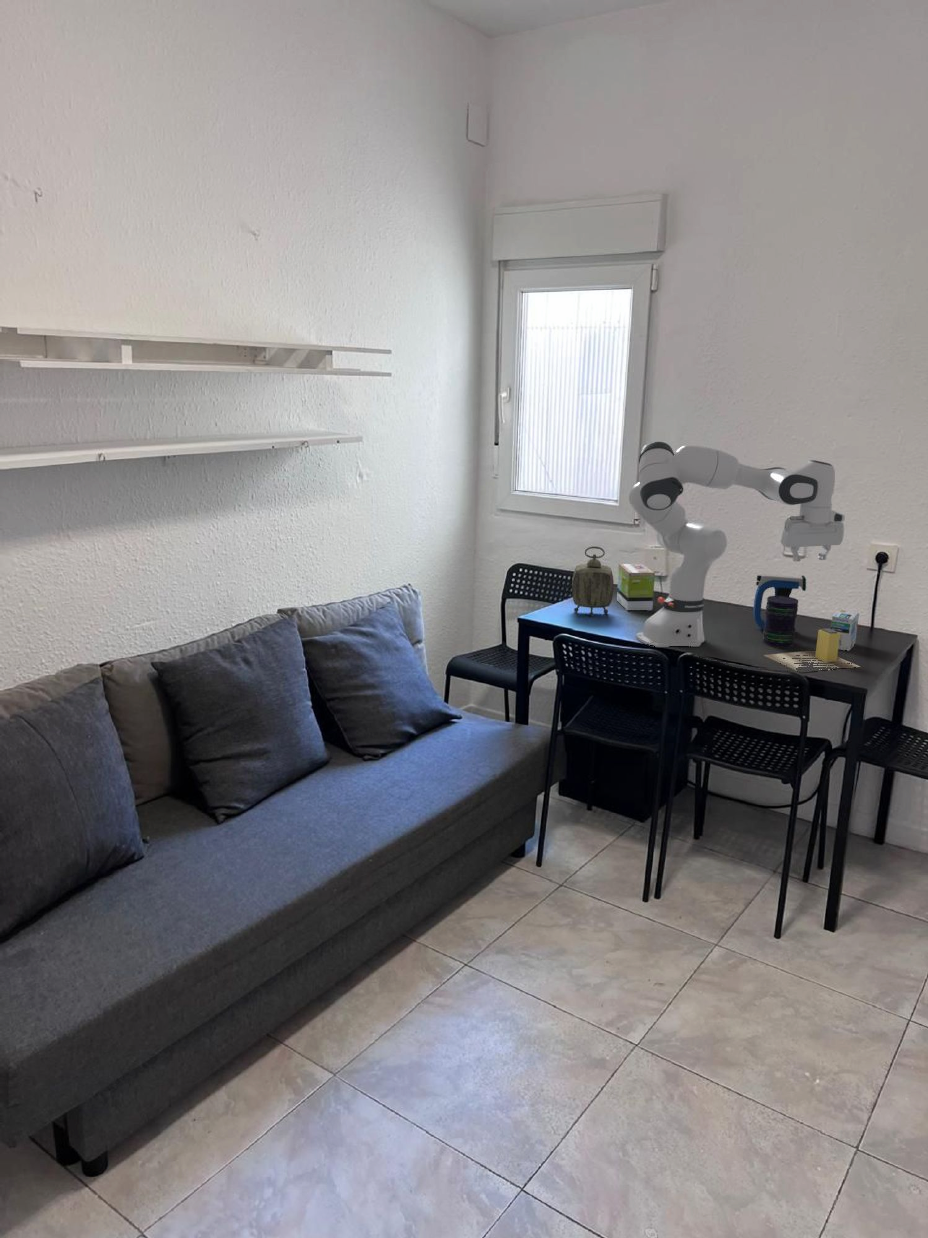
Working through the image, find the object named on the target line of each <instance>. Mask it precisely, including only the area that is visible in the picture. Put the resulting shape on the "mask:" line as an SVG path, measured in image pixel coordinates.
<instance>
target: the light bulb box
mask: <svg viewBox="0 0 928 1238" xmlns="http://www.w3.org/2000/svg"><path fill="white" fill-rule="evenodd" d="M859 617H860V613H859V612H854V611H848V610H841V609H838V610H837V611H836V612H835V613H834V614H833V615H831V624H830V629H832V630H834V631H837V632H838V633H840V639H839V646H838V651H839V650H841V651H845V650H847V651H846V652H849V651H851V649H852V648H854V646H855V645H854V644H856V638H857V633H858V632H857V631H858V624H859Z"/></svg>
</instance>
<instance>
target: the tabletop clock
mask: <svg viewBox="0 0 928 1238" xmlns="http://www.w3.org/2000/svg"><path fill="white" fill-rule="evenodd" d="M591 549H592V550H593V549H597V550H601V551H602V552H603V554H601V555H599V556H597V554H595V553H594V554H593V555H588V554H587V552H588V550H591ZM584 554H585V556H586V557H587V558H589V560H588V561H587V563H583V564H579V565H576V566H575V568H574V571H573V575H572V581H571V582H572V583H571V586H572V588H571V590H572V599H573V600H572V601H573V603H574V605H575V606H577V607H574V609H573V612H574V613H578V612H579V608H580V607H582V608H588V609H589V608H590V612H589V613H588V615H589V617H591V616H592V617H594V615H595V614H594V612H593V610H594V609H597V608H598V609H599V608H601V609H602V608H603V614H608V613H609V610H608V609H606V607H609V606H610V605H611V603H612V600H613V597H614V596H613V595H614V589H615V588H614V585H615V584H614V583H615V581H614V575H613V574H614V573H613V571H612V568H611V567H610V566H608V565H605V564H602V563H601V561H600V560H599V559H600V558H603V557H604V556H605V554H606V553H605V550H604V549H603V548H602V547H600V546H589V547H587V548H586V549H585V551H584Z"/></svg>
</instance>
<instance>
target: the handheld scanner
mask: <svg viewBox="0 0 928 1238" xmlns="http://www.w3.org/2000/svg"><path fill="white" fill-rule="evenodd" d="M755 585H756V586H757V588H756V590H755V594H754V600H753V608H752V609H753V617H754V621H755V623H756V625H757V626H758V627H759V628H760V629H761V630H763V631H764V626H765V621H766V620H764V619H763V618H762V615H761V613H762V603H763V597H764V594H765V592H766V591H767V589H768V590H769V589H770V588H771V589H772V588H774V596H786V597H791V593H792V591H793V589H795V590H799V588H800V587H801V589H802V591H804V592H806V590H807V578H806V576H805V575H801V576H791V575H790V576H789V575H780V574H779V575H778V574H776V575H774V574H761V575H759V574H758V575H757V576H756V582H755ZM794 628H795V629H796V626H795V627H794Z"/></svg>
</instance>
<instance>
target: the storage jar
mask: <svg viewBox="0 0 928 1238" xmlns="http://www.w3.org/2000/svg"><path fill="white" fill-rule="evenodd" d="M798 604H799V599H797V598H795V597H791V596H789V597H786V596H775V595H771V596H768V597H767V598H766V604H765V620H764V621H765V626H764V630H763V631H762V644H764V645H766V646H768V647H773V648H778V647H782V648H781V649H784V648H786V647H788V648H792V647H793V646H794V641H795V632H796V626H795V625H796V618H797V616H798V610H799V608H798V607H799V605H798ZM794 627H795V628H794Z"/></svg>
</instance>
